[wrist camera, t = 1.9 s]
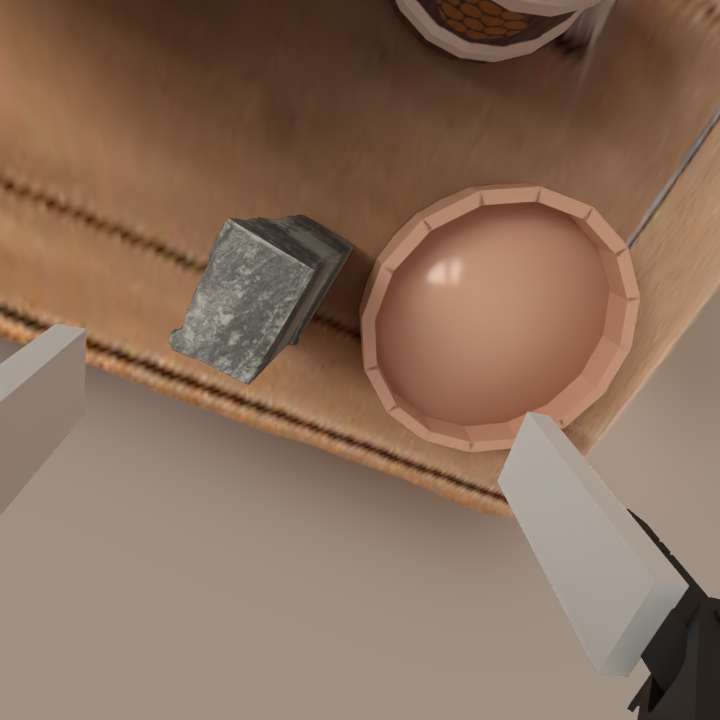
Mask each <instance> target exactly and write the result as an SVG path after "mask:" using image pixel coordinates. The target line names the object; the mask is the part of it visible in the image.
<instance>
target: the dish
mask: <svg viewBox="0 0 720 720" xmlns="http://www.w3.org/2000/svg"><path fill="white" fill-rule="evenodd" d="M640 298H641V297H640V293H639V289H638V285H637V281H636V277H635V273H634V268H633V264H632V260H631V256H630V252H629V248H628V246H627V245H626V244H625V243H624V241H623V240H622V239H621V238H620V237H619V236H618V235H617V233H616V232H615V231H614V230H613V229H612V228H611V226H610V225H609V224H608V223H607V222H606V221H605V220H604V218H603V217H602V216H601V215H600V214H599V213H598V211H597V210H596V209H595V208H594V207H592V206H590V205H587V204H585V203H582V202H579V201H577V200H574V199H572V198H569V197H567V196H564V195H562V194H559V193H556V192H554V191H551V190H549V189H546V188H544V187H541V186H537V185H533V184H529V183H520V184H491V185H484V186H475V187H468V188H466V189H464V190H462V191H458V192H456V193H453V194H451V195H449V196H446V197H444V198H442V199H440V200H438V201H436V202H434V203H433V204H431V205H429V206H428V207H426V208H424V209H423V210H421V211H420V212H419V213H417V214H415V215H414V217H412V218H411V219H410V220H408V221H407V222H406V223H405V224H404V225H403V226H402V227H401V228H400V229H399V230H398V231H397V232H396V233H395V234H394V236H393V237H392V238H391V240H390V241H389V242H388V243H387V245H386V246H385V247H384V249H383V250H382V252H381V254H380V255H379V256H378V257H377V260H376V262H375V264H374V266H373V268H372V270H371V273H370V275H369V277H368V280H367V283H366V286H365V290H364V293H363V296H362V301H361V304H360V307H359V316H360V335H361V350H362V360H363V365H364V370H365V372H366V374H367V376H368V378H369V379H370V381H371V383H372V385H373V387H374V389H375V391H376V393H377V394H378V396H379V398H380V400H381V402H382V404H383V406H384V407H385V409H386V411H387V413H388V414H390V415H391V416H392V417H394V418H395V419H396V420H398V421H399V422H400V423H402V424H403V425H404V426H406V427H407V428H408V429H409V430H411V431H412V432H413V433H415V434H416V435H417V436H419V437H420V438H421V439H423V440H424V441H428V442H432V443H435V444H439V445H443V446H447V447H451V448H455V449H458V450H462V451H466V452H479V451H490V450H501V449H511V448H512V446H513V444H514V441H515V439H516V437H517V434H518V432H519V430H520V427H521V425H522V423H523V420H524V418H525V416H526V413H527V411H528V412H534V413H539V414H544V415H549V416H550V417H551V418H552V419H553V421H554V422H555V423H556V424H557V425H558V427H559V428H560V429H563V428H565V427H566V426H568V425H569V424H570V423H571V422H572V421H573V420H574V419H576V418H577V417H578V416H579V415H580V414H581V413H582V412H584V411H585V410H586V409H587V408H588V407H589V406H591V405H592V404H593V403H594V402H595V401H596V400H597V399H599V398H600V397H601V396H602V395H603V394H604V393H605V392H606V390H607V388H608V387H609V385H610V383H611V382H612V380H613V378H614V377H615V375H616V373H617V372H618V370H619V368H620V367H621V365H622V363H623V361H624V360H625V358H626V356H627V355H628V353H629V351H630V350H631V348H632V342H633V337H634V331H635V325H636V320H637V314H638V309H639V303H640Z"/></svg>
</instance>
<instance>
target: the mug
mask: <svg viewBox="0 0 720 720" xmlns="http://www.w3.org/2000/svg"><path fill="white" fill-rule="evenodd" d="M390 1H391V3H392V6H393V8H394V10H395V12H396V14H397V16H398V17H399V18H400V19H401V20H402V22H403V23H404V24H405V25H406V26H407V27H408V28H409V29H410V30H411V32H412V33H413V34H414V35H415V36H416V37H417V38H418V39H419V40H420V42H421V43H423V44H425V45H427V46H428V47H430V48H432V49H434V50H436V51H438V52H439V53H441V54H443V55H445V56H447V57H449V58H450V59H455V60H463V61H471V62H478V63H487V62H498V61H502V60H506V59H510V58H514V57H518V56H522V55H527V54H531V53H532V52H534V51H535V50H537V49H538V48H540V47H542V46H543V45H545V44H546V43H548V42H549V41H551V40H553V39H554V38H556V37H557V36H559V35H561V34H562V33H564V32H565V31H566V30H567V29H568V28H569V27H570V25H571V24H572V23H573V22H574V21H575V20H576V19H577V18H578V16H579V15H580V14H581V13H582V12H583V11H584V10H585V8H589V7H593V6H594V5H596V4H597V3H599V2H601V1H602V0H390Z"/></svg>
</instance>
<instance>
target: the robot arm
mask: <svg viewBox="0 0 720 720" xmlns="http://www.w3.org/2000/svg"><path fill="white" fill-rule="evenodd" d="M86 330H87V329H84V328H79V327H74V326H68V325H63V324H58V323H56V324H55V325H53V326H52V327H51V328H49V329H48V330H47V331H45V332H44V333H42V334H41V335H40V336H38V337H37V338H36V339H34V340H33V341H31V342H30V343H29V344H27V345H26V346H25V347H23V348H22V349H20V350H19V351H18V352H16V353H15V354H14V355H12V356H11V357H10V358H8V359H7V360H5V361H4V362H3V363H1V364H0V515H1V514H2V513H3V512H4V510H5V509H6V508H7V507H8V506H9V504H10V503H11V502H12V501H13V500H14V498H15V497H16V496H17V495H18V494H19V492H20V491H21V490H22V489H23V488H24V486H25V485H26V484H27V483H28V482H29V480H30V479H31V478H32V477H33V476H34V474H35V473H36V472H37V471H38V469H39V468H40V467H41V466H42V465H43V463H44V462H45V461H46V460H47V459H48V457H49V456H50V455H51V454H52V453H53V451H54V450H55V449H56V448H57V447H58V445H59V444H60V443H61V442H62V441H63V439H64V438H65V437H66V436H67V435H68V433H69V432H70V431H71V430H72V429H73V427H74V426H75V425H76V423H78V421H79V420H80V419H81V418H82V416H83V414H84V388H85V387H84V386H85V359H86ZM497 482H498V484H499V486H500V488H501V489H502V491H503V493H504V495H505V497H506V499H507V501H508V503H509V505H510V507H511V509H512V511H513V513H514V515H515V517H516V519H517V520H518V522H519V524H520V526H521V528H522V530H523V532H524V534H525V536H526V538H527V540H528V542H529V544H530V546H531V548H532V549H533V551H534V553H535V555H536V557H537V559H538V561H539V563H540V565H541V567H542V569H543V571H544V572H545V575H546V576H547V579H548V580H549V582H550V584H551V586H552V588H553V590H554V592H555V594H556V596H557V598H558V600H559V601H560V603H561V605H562V608H563V609H564V611H565V613H566V615H567V617H568V619H569V621H570V623H571V625H572V627H573V629H574V631H575V633H576V634H577V637H578V638H579V640H580V642H581V644H582V646H583V648H584V650H585V652H586V654H587V656H588V658H589V660H590V662H591V664H592V666H593V668H594V669H595V671H596V673H597V674H602V675H613V676H624V677H628V676H629V674H630V673H631V672H632V670H633V669H634V667H635V666H636V664H637V663H638V661H639V660H640V658H642V659H643V661H644V663H645V664H646V666H647V667H648V669H649V671H650V672H651V674H650V676H649V677H648V679H647V680H646V682H645V683H644V684H643V686H642V687H641V689H640V690H639V692H638V693H637V694H636V696H635V697H634V699H633V700H632V702H631V703H630V705H629V707H628V709H629V710H630V711H631V712H633V711H634V710H635V708H636V707H637V706H640V708H639V714H638V720H720V599H716V598H711V597H710V598H709V597H708V596H707V595H706V594H705V592H704V591H703V590H702V589H701V588H700V587H699V585H698V584H697V583H696V582H695V581H694V579H693V578H692V577H691V576H690V575H689V574H688V572H687V571H686V570H685V569H684V568H683V566H682V565H681V564H680V563H679V562H678V561H677V560H676V558H675V557H674V556H673V555H670V551H669V550H668V549H667V547H665V545H664V544H663V543H662V542H659V538H658V537H657V536H656V535H655V533H654V532H653V531H652V530H651V528H650V527H649V526H648V525H647V524H646V523H645V522H644V521H642V520H641V519H640V518H639V517H638V516H636V515H635V514H634V513H633V512H631V511H630V510H629V509H626V508H625V507H624V506H623V504H622V503H621V502H620V501H619V500H618V498H617V497H616V496H615V495H614V494H613V492H612V491H611V490H610V489H609V488H608V486H607V485H606V484H605V483H604V482H603V480H602V479H601V478H600V477H599V475H598V474H597V473H596V472H595V470H594V469H593V468H592V467H591V466H590V464H589V463H588V462H587V461H586V459H585V458H584V457H583V456H582V455H581V453H580V452H579V451H578V450H577V449H576V447H575V446H574V445H573V444H572V442H571V441H570V440H569V439H568V438H567V436H566V435H565V434H564V433H563V431H562V430H561V429H560V428H559V427H558V425H557V424H556V423H555V422H554V421H553V419H552V418H551V417H550V416H549V415H544V414H539V413H534V412H528V411H527V413H526V416H525V418H524V420H523V423H522V425H521V427H520V430H519V432H518V434H517V437H516V439H515V441H514V444H513V446H512V448H511V451H510V453H509V455H508V458H507V460H506V462H505V465H504V467H503V469H502V472H501V474H500V476H499V479H498V481H497Z"/></svg>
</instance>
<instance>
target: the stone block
mask: <svg viewBox="0 0 720 720" xmlns="http://www.w3.org/2000/svg"><path fill="white" fill-rule="evenodd" d="M354 247H355V246H353V245H352V244H351V243H349V242H348V241H346V240H344V239H343V238H341V237H340V236H338V235H336V234H335V233H333V232H332V231H330V230H328V229H327V228H325V227H323V226H322V225H320V224H318V223H317V222H315V221H313V220H311V219H310V218H308V217H306V216H304V215H298V216H288V217H285V218H281V219H266V218H260V217H258V218H252V219H249V220H247V221H246V220H240V219H233V218H229V219H228V220H227V221H226V223H225V224H224V225H223V228H222V230H221V232H220V233H219V234H218V236H217V237H216V239H215V242H214V245H213V248H212V250H211V251H210V253H209V255H210V259H209V264H208V267H207V269H206V271H205V273H204V275H203V277H202V279H201V281H200V283H199V285H198V287H197V289H196V291H195V293H194V295H193V297H192V300H191V303H190V305H189V308H188V310H187V312H186V318H185V321H184V325H183V327H181V328H180V329H179V330H178V329H175V330H173V331H172V332H171V334H170V337H169V344H170V345H171V347H172V349H173V350H174V351H176V352H179V353H181V354H184V355H187V356H189V357H191V358H194V359H198V360H200V361H202V362H204V363H206V364H208V365H210V366H212V367H214V368H216V369H218V370H219V371H221V372H223V373H226V374H227V375H229V376H231V377H233V378H235V379H237V380H238V381H240V382H242V383H244V384H247V385H249V384H250V383H251V382H252V381H253V380H254V379H255V378H256V377H257V376H258V375H259V374H260V373H261V372H262V371H263V370H264V369H265V367H266V366H267V365H268V364H269V363H270V362H271V361H272V360H273V359H274V358H275V357H276V356H277V355H278V354H279V353H280V352H281V351H282V350H283V349H284V348H285V347H286V346H287V345H288V344H289V345H297V344H298V336H299V334H300V333H301V332H302V331H303V330H304V329H305V328H306V327H307V325H308V323H309V322H310V320H311V319H312V317H313V315H314V314H315V312H316V310H317V309H318V307H319V306H320V304H321V303H322V301H323V300H324V298H325V296H326V295H327V293H328V291H329V290H330V288H331V286H332V284H333V283H334V281H335V279H336V278H337V276H338V274H339V272H340V271H341V269H342V267H343V266H344V264H345V262H346V261H347V259H348V257H349V255H350V254H351V252H352V250H353V249H354Z"/></svg>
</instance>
